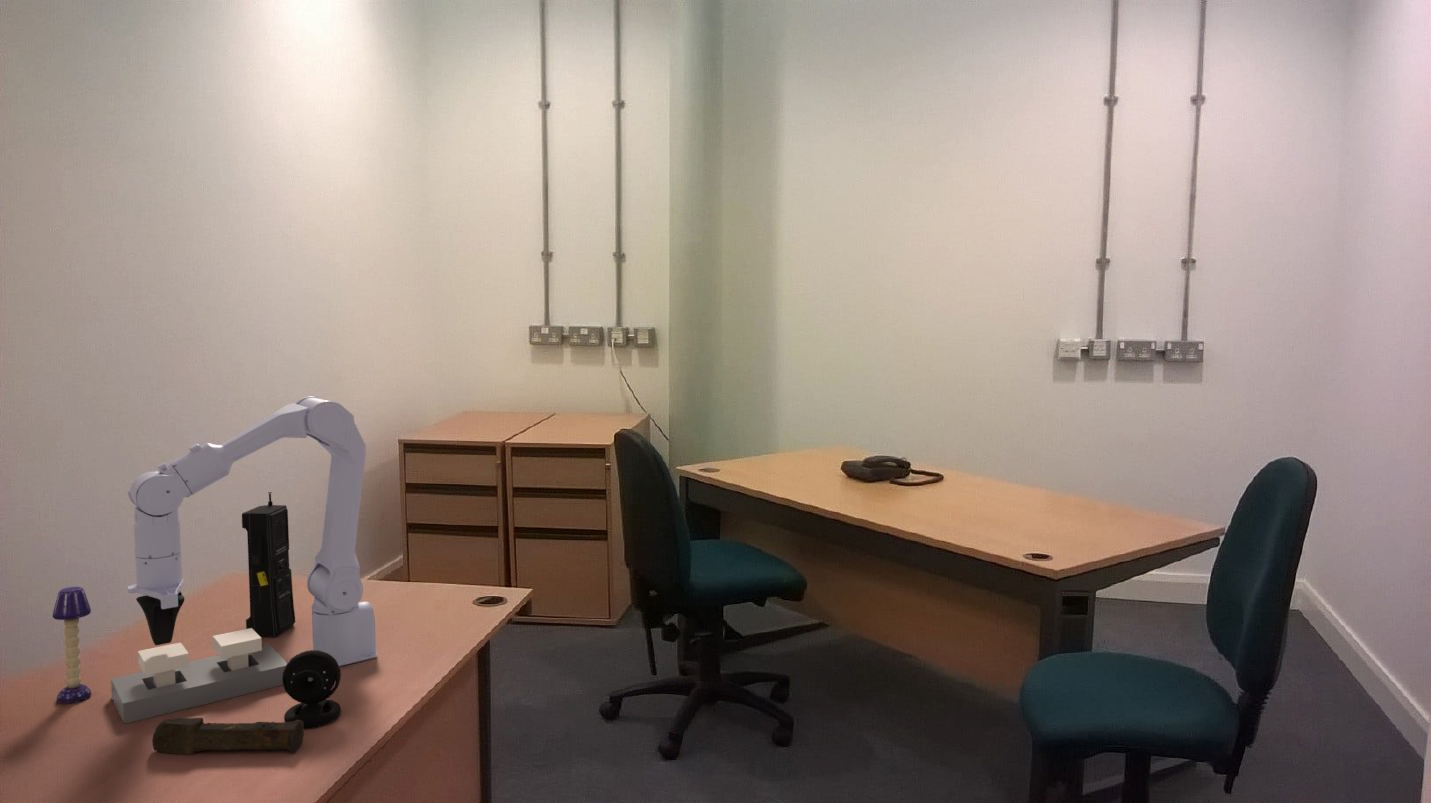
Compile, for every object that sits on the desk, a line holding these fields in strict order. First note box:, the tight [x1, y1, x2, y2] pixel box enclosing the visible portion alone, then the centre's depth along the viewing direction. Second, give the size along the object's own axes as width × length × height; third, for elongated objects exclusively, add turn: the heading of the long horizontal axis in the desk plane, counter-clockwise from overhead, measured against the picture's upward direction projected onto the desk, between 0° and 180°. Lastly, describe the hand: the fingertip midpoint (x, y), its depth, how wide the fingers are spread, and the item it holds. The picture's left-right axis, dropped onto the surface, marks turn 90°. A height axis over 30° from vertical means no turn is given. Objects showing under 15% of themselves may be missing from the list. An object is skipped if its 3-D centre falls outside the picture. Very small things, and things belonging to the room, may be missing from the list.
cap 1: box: [137, 642, 190, 688], centre depth 134 cm, size 6×6×5 cm
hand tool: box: [151, 717, 305, 756], centre depth 120 cm, size 19×4×5 cm, turn 92°
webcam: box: [282, 649, 342, 730], centre depth 129 cm, size 8×8×10 cm
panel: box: [110, 644, 288, 725], centre depth 138 cm, size 22×11×3 cm, turn 131°
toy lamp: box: [52, 586, 92, 704], centre depth 134 cm, size 5×5×17 cm
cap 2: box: [212, 628, 263, 671], centre depth 141 cm, size 6×6×5 cm
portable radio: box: [241, 491, 297, 638], centre depth 161 cm, size 8×6×25 cm
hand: (162, 642), depth 134 cm, fingers closed
